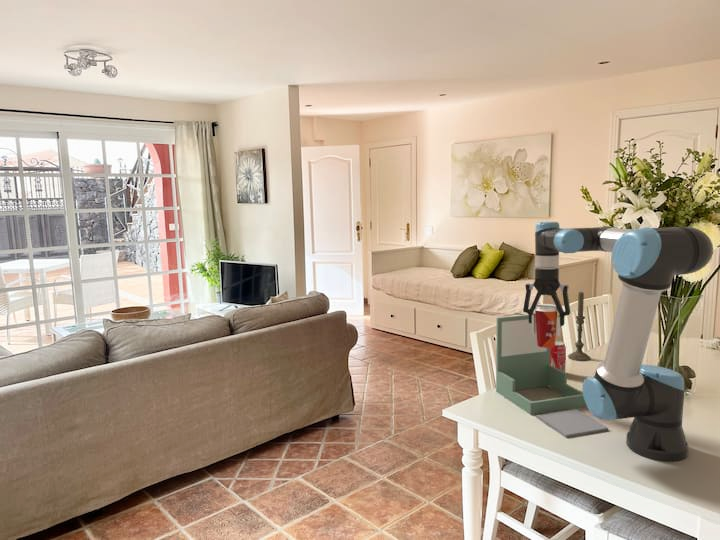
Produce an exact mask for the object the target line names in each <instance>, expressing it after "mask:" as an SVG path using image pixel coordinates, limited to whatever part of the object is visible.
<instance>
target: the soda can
mask: <svg viewBox="0 0 720 540" xmlns="http://www.w3.org/2000/svg"><path fill="white" fill-rule="evenodd" d="M566 348H567V347H566V344H565V342H564V341H561V340H555V346H554V347H552V348H550V365H551V366H553V367H555V368H557V369H559V370H561V371H563V372H565V373H566V363H567V362H566V361H567V359H566V357H567V355H566V354H567V349H566Z"/></svg>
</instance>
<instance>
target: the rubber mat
mask: <svg viewBox="0 0 720 540" xmlns="http://www.w3.org/2000/svg"><path fill="white" fill-rule="evenodd" d="M535 418H536V419H538V420H539V421H540V422H542V423H544V424H545V425H546V426H548V427H549V428H551V429H552V430H554V431H555V432H557V433H559V434H560V435H562V437H565V438H571V437H578V436H583V435H589V434H595V433H601V432H606V431H609V427H608V426H606V425H604V424H603V423H601V422H600V421H597V420H595V419H594V418H592V417H591V416H588V415H587V414H585V413H583V412H582V411H580V410H578V409H576V408H572V409H566V410H559V411H553V412H547V413H540V414H535Z"/></svg>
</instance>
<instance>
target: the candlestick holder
mask: <svg viewBox="0 0 720 540" xmlns="http://www.w3.org/2000/svg"><path fill="white" fill-rule="evenodd" d="M577 294H578V295H577V315H576V316H575V319H576V322H575V323H576V324H577V325H578V326H577V329H576V330H577V341H576V342H575V347H576V351H574V352H572V353H570V354H568V355H567V357H568V359H570V360H572V361H576V362H577V361H578V362H588V361H590V360H591V356H590V355H588V354H587V353H585V352H584V351H583V350H582V349H583V348H584V346H585V343H583V341H582V335H583V325H584V324H585V321H584V320H585V319H586V316H584V301H585V300H584V299H585V298H584V297H585V293H584V292H583V291H579V292H578V293H577Z"/></svg>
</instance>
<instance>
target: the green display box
mask: <svg viewBox="0 0 720 540" xmlns="http://www.w3.org/2000/svg"><path fill="white" fill-rule="evenodd" d="M495 338H496V339H495V340H496V342H495V343H496V345H495V346H496V351H495V352H496V355H495V356H496V357H495V358H496V361H495V362H496V363H495V366H496V367H495V369H496V370H495V371H496V372H495V373H496V375H495V378H496V379H495V389H496V390H495V392H496V393H497V394H499V395H501V396H502V397H503V396H504V398H505V399H507V400H508V401H509V402H511V403H512V404H514V405H515V406H517V407H518V408H520V409H521V410H523V411H524V412H526V413H527V414H529V415H532V416H533V415H540V414H546V413H553V412H559V411H566V410H572V409H576V408H583V407H584V408H585V407H587V405H586V402H585V400H584V396H583V391H581V390H579V389H578V388H575V387H573V386H572V385H570V384H567V382H568V379H567V378H568V373H567V372H566V371H565V372H563V371H561V370H559V369H557V368H555V367H553V366H551V365H550V348H543V347H539V346H538V345H537V331H536V332H535V333H534V334H532V324H531V323H529V314H521V315H511V316H501V317H496V337H495ZM539 387H541V388H542V387H549V388H550V389H552V388H553V390H554V391H556V392H558V393H560V394H561V393H562V394H561V395H564V396H562V397H553V398H547V399H541V400H534V401H532V400H530V399H528V398H526V397H525V396H524V395H522V394H521V393H519V392H517V390H525V389H526V390H527V389H533V388H539Z"/></svg>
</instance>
